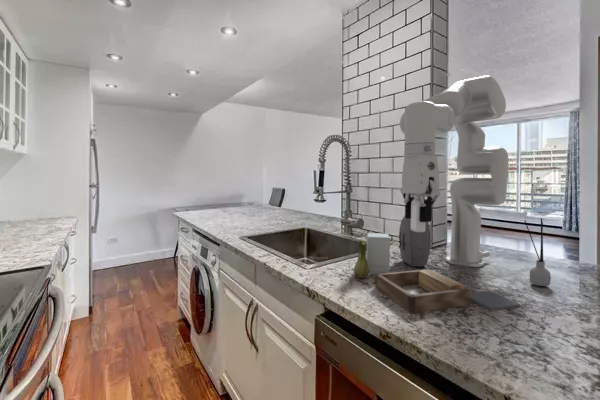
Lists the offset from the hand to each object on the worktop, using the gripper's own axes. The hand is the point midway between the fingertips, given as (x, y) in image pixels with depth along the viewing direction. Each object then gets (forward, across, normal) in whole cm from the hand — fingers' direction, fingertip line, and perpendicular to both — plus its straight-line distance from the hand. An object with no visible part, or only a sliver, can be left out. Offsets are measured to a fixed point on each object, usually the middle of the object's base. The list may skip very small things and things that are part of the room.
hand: (417, 219), depth 80 cm
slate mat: (+21, -8, -16) cm, 28 cm away
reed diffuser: (+22, -2, -39) cm, 45 cm away
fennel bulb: (+21, +18, +8) cm, 29 cm away
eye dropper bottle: (+3, 0, 0) cm, 3 cm away
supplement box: (+21, +22, 0) cm, 31 cm away
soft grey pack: (+22, +26, -16) cm, 38 cm away
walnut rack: (+21, 0, -1) cm, 21 cm away
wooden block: (+21, 0, -7) cm, 23 cm away
